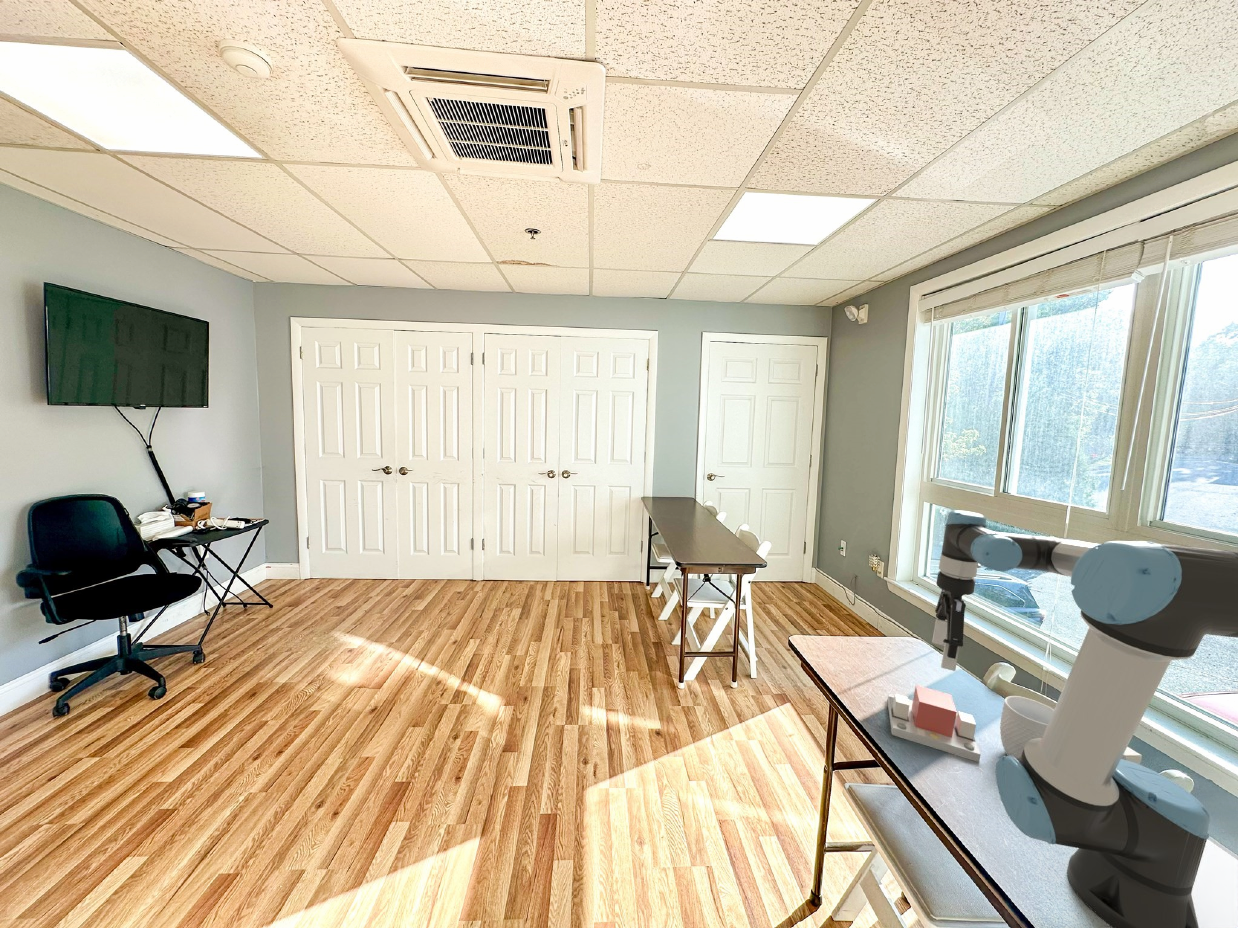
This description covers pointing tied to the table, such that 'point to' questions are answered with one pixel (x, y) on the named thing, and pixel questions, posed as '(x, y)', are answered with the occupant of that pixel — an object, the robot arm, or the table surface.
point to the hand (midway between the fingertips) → (942, 655)
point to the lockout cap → (933, 711)
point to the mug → (1022, 723)
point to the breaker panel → (932, 735)
